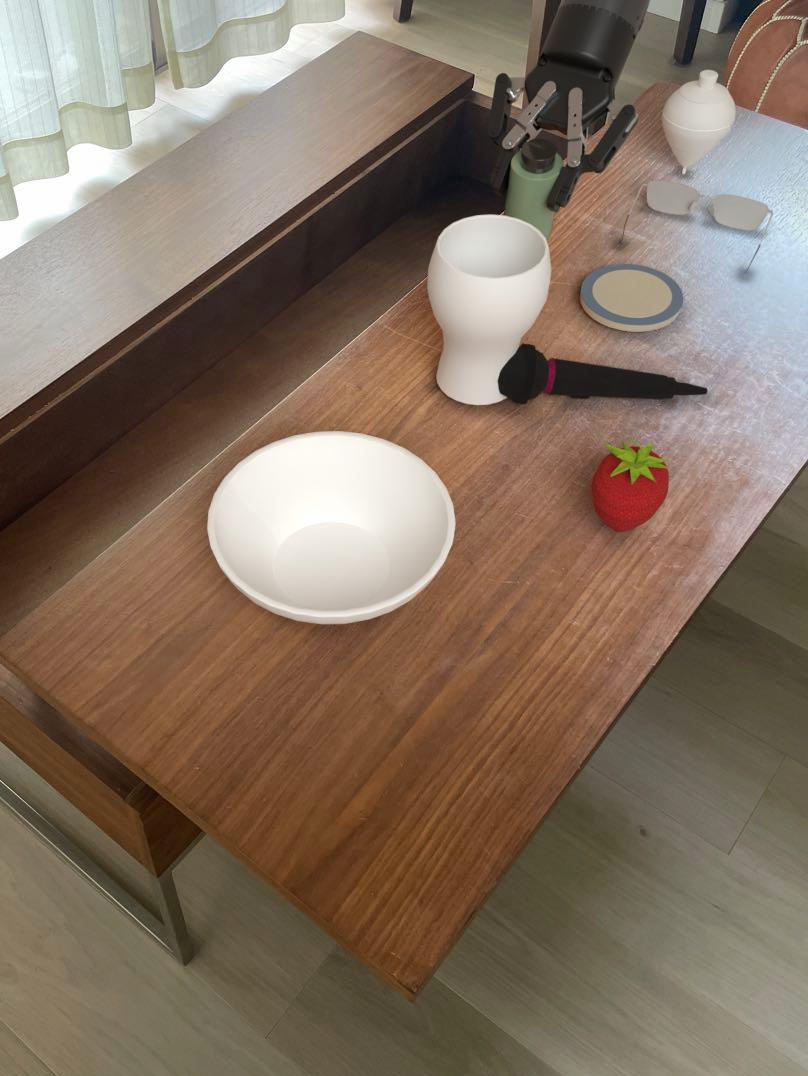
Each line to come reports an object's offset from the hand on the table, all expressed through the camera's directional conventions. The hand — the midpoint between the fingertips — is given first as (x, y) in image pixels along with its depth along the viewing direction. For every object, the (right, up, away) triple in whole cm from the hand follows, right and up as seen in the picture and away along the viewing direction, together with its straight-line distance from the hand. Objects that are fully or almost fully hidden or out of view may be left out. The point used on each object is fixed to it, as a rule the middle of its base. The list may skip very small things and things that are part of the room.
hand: (525, 200), depth 103 cm
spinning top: (+24, +10, +24) cm, 35 cm away
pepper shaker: (+1, -1, +5) cm, 6 cm away
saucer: (+13, -8, +9) cm, 17 cm away
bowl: (-19, -35, -11) cm, 41 cm away
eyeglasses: (+22, 0, +16) cm, 27 cm away
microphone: (+7, -19, 0) cm, 20 cm away
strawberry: (+6, -31, -10) cm, 33 cm away
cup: (-4, -16, +3) cm, 17 cm away
